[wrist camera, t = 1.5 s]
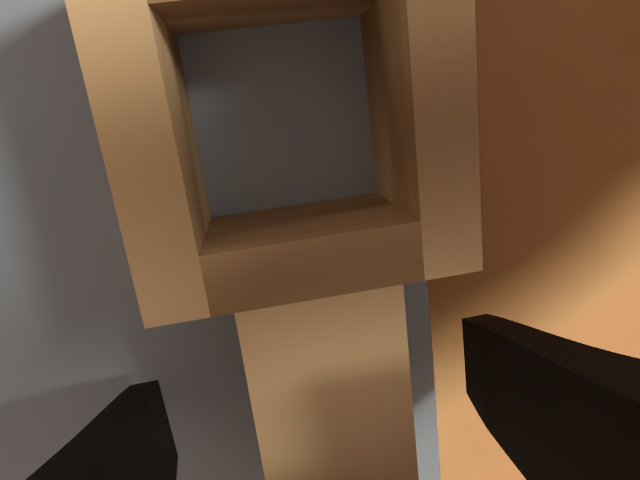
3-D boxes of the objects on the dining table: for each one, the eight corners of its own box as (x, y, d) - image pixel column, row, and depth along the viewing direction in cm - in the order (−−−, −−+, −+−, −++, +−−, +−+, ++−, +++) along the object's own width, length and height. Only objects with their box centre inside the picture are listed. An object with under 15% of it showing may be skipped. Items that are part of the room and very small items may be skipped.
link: (107, -20, 9) (45, -78, 6) (406, -48, 10) (471, -113, 7) (237, 574, 13) (235, 700, 11) (443, 526, 14) (494, 633, 11)
